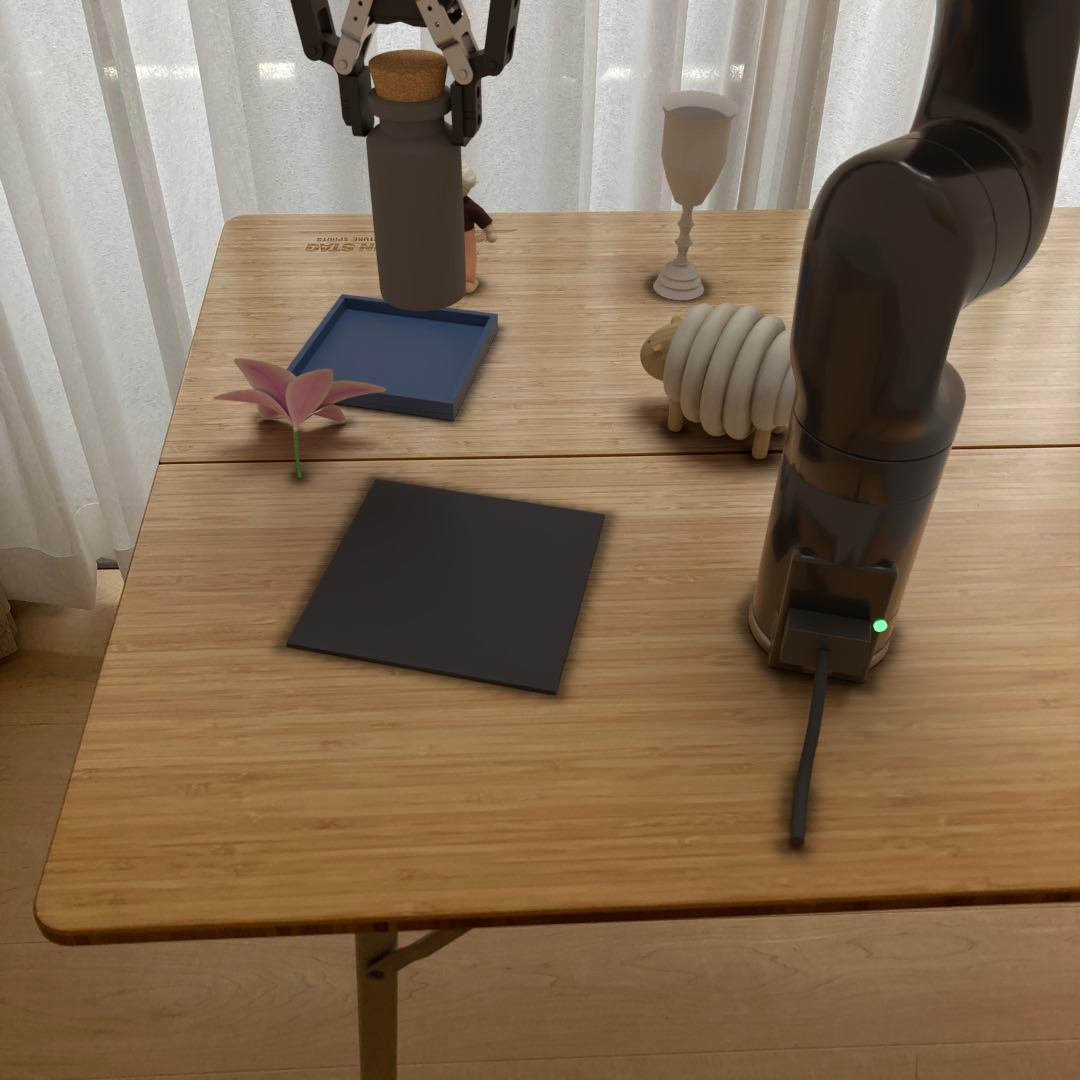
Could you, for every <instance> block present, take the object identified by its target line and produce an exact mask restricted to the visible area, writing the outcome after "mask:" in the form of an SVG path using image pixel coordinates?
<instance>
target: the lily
mask: <svg viewBox="0 0 1080 1080" xmlns="http://www.w3.org/2000/svg"><path fill="white" fill-rule="evenodd" d="M233 362H234V363H235V365H236V367H237V368H238V369H239V371H240V372H241V373H242V375H243V376H244V377H245V379H246V381H247V382H248V383H249V385H250V387H252V389H250V388H248V389H239V390H233V391H228V392H225V393H221V394H218V395H216V396H214V397H213V398H212V400H218V401H230V402H237V403H238V402H239V403H246V404H253V405H256V406H257V411H258V415H259V417H260V419H261V418H262V419H263V420H269V419H273V418H275V417H278V416H282V417H283V418H285V420H287V421H289V422H290V424H292V428H293V429H292V430H293V449H294V450H293V451H294V457H295V466H296V474H297V478H298V479H301V478H303V476H302V469H301V462H300V454H299V453H300V452H299V441H298V440H299V439H298V438H299V435H298V434H299V428H300V425H302V423H304V422H305V421H307V420H308V419H310V418H311V417H312V416H317V417H321V418H324V419H328V420H330V421H335V422H338V423H343V424H345V423H346V422H347V419H346V415H345V413H344V412H343V411H342V409H341V408H340V406H338V405H335V404H337V403H336V402H338V401H341V400H344V399H347V398H350V397H354V396H358V395H364V394H370V393H377V392H383V391H386V390H387V389H385V388H383V387H380V386H377V385H373V384H368V383H363V382H357V381H335V382H333V371H332V370H331V369H319V370H315V371H310V372H307V373H304V374H301V375H299V376H297V377H296V376H295V375H294V374H292V373H291V372H289V371H288V370H286V369H287V368H284V367H281V366H279V365H276V364H273V363H270V362H267V361H263V360H257V359H253V358H244V357H238V358H237V357H236V358H234V359H233Z"/></svg>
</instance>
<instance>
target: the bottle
mask: <svg viewBox="0 0 1080 1080" xmlns="http://www.w3.org/2000/svg"><path fill="white" fill-rule="evenodd" d="M367 66H369V69H370V74H371V80H372V83H373V86H374V87H372V89H371V90H370V91H369V93H368V105H369V110H370V112H371V113H372V114H373V115H374V117H377V118H378V119H379V123H378V124H376V125H374V128H373V129H372V130H371V131H370V132H369V133H368V135H367V136H366V137H365V145H366V159H367V169H368V182H369V190H370V191H369V193H370V194H369V195H370V202H371V212H372V224H373V232H374V233H373V235H374V236H373V237H374V246H375V254H376V255H375V256H376V265H377V275H378V283H379V290H380V295H381V299H384V301H386V302H387V303H388V304H390V305H392V306H393V307H396V308H399V309H403V310H408V311H433V310H439V309H443V308H446V307H447V308H450V307H452V306H453V305H455V304H456V303H459V302H460V301H462V299H463V298H464V296H465V295H466V293H465V292H466V258H465V233H464V208H463V184H462V160H463V159H462V147H461V146H454V145H453V139H452V124H450V123H449V122H447V121H446V120H445V116H446V115H448V114H449V113H451V95H450V86H448V85H447V84H446V83H447V82H446V81H447V75H448V68H449V66H448V64H447V61H446V59H445V57H444V55H443V54H441V53H439V52H436V51H432V50H427V49H425V50H424V49H413V48H411V49H409V48H408V49H397V50H388V51H385V52H381V53H379V54H376V55H374V56H373V57H371V58H370V59H369V60H368V63H367Z"/></svg>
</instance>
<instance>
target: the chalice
mask: <svg viewBox="0 0 1080 1080" xmlns="http://www.w3.org/2000/svg"><path fill="white" fill-rule="evenodd" d="M660 104H661V107H662V111H663V113H664V120H663V130H662V132H663V133H662V142H661V152H660V157H661V160H662V165H663V168H664V169H663V170H664V174H665V179H666V181H667V184H668V187H669V190H670V192H671V195H672V198H673V200H674V202H675V203H677V204H678V205H680V206H681V208H682V209H681V210H682V213H681V216H680V218H679V220H678V221H677V225H678V228H679V235H678V237H677V238H676V239H675V240H674V244H675V245H676V247H677V254H676V257H675V258H674V259H673V260H670V261H669V262H667V263H665V265H664V266H663V267H662V268H661V271H660V272H659V274H657V275H658V276H657V279H656V280H655V281H654V282H653V284H652V286H653V287H652V289H653V290H654V292H655V293H656V294H658V295H659V296H661V297H662V298H666V299H669V300H673V301H691V300H694V299H697V298H700V297H701V296H702V295H703V294H704V292H705V288H704V286H703V283H702V278H701V275H700V271H699V268H697V266H696V264H694V263H693V262H692V261H690V260H689V259H688V252H689V249H690V247H691V246H692V245H693V241H692V239H691V237H690V233H691V230H692V229H693V227H694V226H695V223H694V221H693V215H692V214H693V210H694V208H695V207H698V206H702V205H703V203H704V202H705V200H706V199H707V197H708V196H709V194H710V192H711V191H712V189H713V188H714V187H715V185H716V183H717V181H718V180H719V177H720V175H721V173H722V170H723V169H724V166H725V165H726V163H727V157H728V149H729V141H730V133H731V127H732V126H731V125H732V121H733V119H734V118H735V116H736V115H737V113H738V111H739V106H738V104H737V102H735V100H733V99H731V98H730V97H727V96H725V95H722V94H719V93H715V92H710V91H704V90H678V91H673V92H670V93H668V94H666V95H664V96H662V97H661V99H660Z"/></svg>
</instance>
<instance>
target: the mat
mask: <svg viewBox="0 0 1080 1080" xmlns="http://www.w3.org/2000/svg"><path fill="white" fill-rule="evenodd" d="M605 518H606V514H605V513H600V512H593V511H587V510H581V509H580V510H579V509H575V508H574V509H573V508H567V507H561V506H554V505H549V504H541V503H534V502H528V501H522V500H517V499H516V500H515V499H509V498H503V497H495V496H490V495H483V494H477V493H476V494H475V493H470V492H463V491H456V490H450V489H443V488H437V487H431V486H425V485H419V484H412V483H411V484H410V483H404V482H399V481H392V480H386V479H380V478H375V479H374V481H373V482H372V485H371V486H370V489H369V490H368V492H367V493H366V496H365V498H364V499H363V501H362V503H361V505H360V506H359V508H358V510H357V512H356V514H355V516H354V518H353V519H352V521H351V523H350V525H349V526H348V529H347V530H346V532H345V534H344V536H343V538H342V539H341V541H340V544H339V545H338V547H337V549H336V551H335V552H334V555H332V558H331V560H330V562H329V564H328V565H327V567H326V569H325V571H324V573H323V575H322V577H321V578H320V580H319V581H318V584H317V586H316V587H315V589H314V591H313V593H312V595H311V597H310V599H309V600H308V602H307V604H306V606H305V608H304V610H303V611H302V613H301V615H300V617H299V619H298V620H297V622H296V624H295V626H294V628H293V629H292V632H291V633H290V635H289V637H288V639H287V641H286V642H285V645H286V647H291V648H295V649H302V650H308V651H311V652H318V653H323V654H330V655H334V656H340V657H345V658H346V657H347V658H350V659H357V660H363V661H368V662H373V663H380V664H385V665H390V666H395V667H402V668H406V669H412V670H417V671H424V672H428V673H429V672H430V673H434V674H441V675H445V676H449V677H450V676H452V677H456V678H461V679H467V680H472V681H473V680H474V681H479V682H484V683H489V684H495V685H501V686H506V687H512V688H518V689H523V690H529V691H534V692H540V693H545V694H551V695H557V692H558V689H559V684H560V681H561V678H562V675H563V674H562V673H563V670H564V666H565V663H566V659H567V655H568V653H569V648H570V645H571V641H572V638H573V634H574V630H575V626H576V622H577V620H578V616H579V612H580V609H581V605H582V601H583V599H584V594H585V590H586V587H587V583H588V580H589V576H590V573H591V569H592V565H593V562H594V558H595V554H596V551H597V547H598V543H599V541H600V536H601V533H602V529H603V525H604V522H605Z"/></svg>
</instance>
